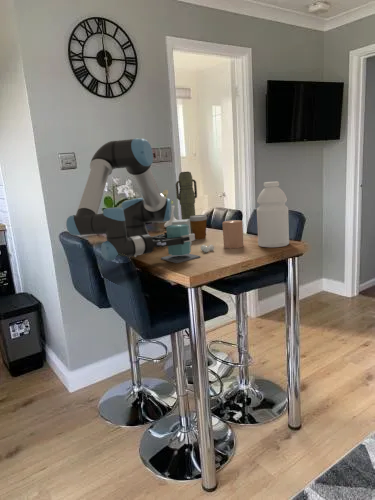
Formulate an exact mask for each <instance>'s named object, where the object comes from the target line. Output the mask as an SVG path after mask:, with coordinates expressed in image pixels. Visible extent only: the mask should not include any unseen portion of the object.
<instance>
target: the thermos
mask: <svg viewBox="0 0 375 500" xmlns="http://www.w3.org/2000/svg"><path fill="white" fill-rule="evenodd" d="M197 187H198V186H197V181H196V180H195V179H193V175H192V173H191V171H181V172H179V173H178V180H177V181H176V183H175V193H176V199H177V200H178V201H179V205H180V212H181V220H185V219H190V216H194V215H196V208H195V205H196V204H195V203H196V199H198V188H197ZM190 228H191V234H193V232H192V227H191V222H190Z"/></svg>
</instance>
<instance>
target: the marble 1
mask: <svg viewBox="0 0 375 500" xmlns="http://www.w3.org/2000/svg"><path fill="white" fill-rule="evenodd" d="M208 246H209V245H208ZM208 246H207V245H206V246H205V247H204V248H203V251H202V252H203V253H208V252H210V250H209V247H208Z"/></svg>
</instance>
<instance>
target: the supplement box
mask: <svg viewBox="0 0 375 500" xmlns="http://www.w3.org/2000/svg"><path fill="white" fill-rule="evenodd" d="M177 224H187V225H188V226H189V233H190V234H191V228H190V219H185V220H182V219H177V220H175V221H173V222H172V225H177ZM192 245H193V241H190V246H192Z"/></svg>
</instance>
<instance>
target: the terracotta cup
mask: <svg viewBox="0 0 375 500" xmlns="http://www.w3.org/2000/svg"><path fill="white" fill-rule="evenodd" d="M222 235H223V237H222V239H223V248H225V249H240V248H243V247H244V245H245V244H244V243H245V242H244V225H243V220H240V219H239V220H238V219H237V220H236V219H235V220H233V219H231V220H226V221H222Z"/></svg>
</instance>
